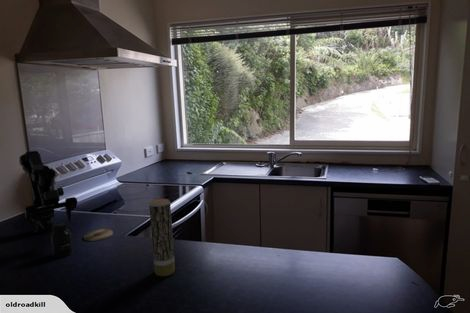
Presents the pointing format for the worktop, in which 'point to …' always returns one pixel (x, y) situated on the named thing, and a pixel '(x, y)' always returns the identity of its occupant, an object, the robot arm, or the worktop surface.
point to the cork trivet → (98, 235)
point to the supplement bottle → (61, 241)
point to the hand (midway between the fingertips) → (57, 225)
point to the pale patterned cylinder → (162, 237)
